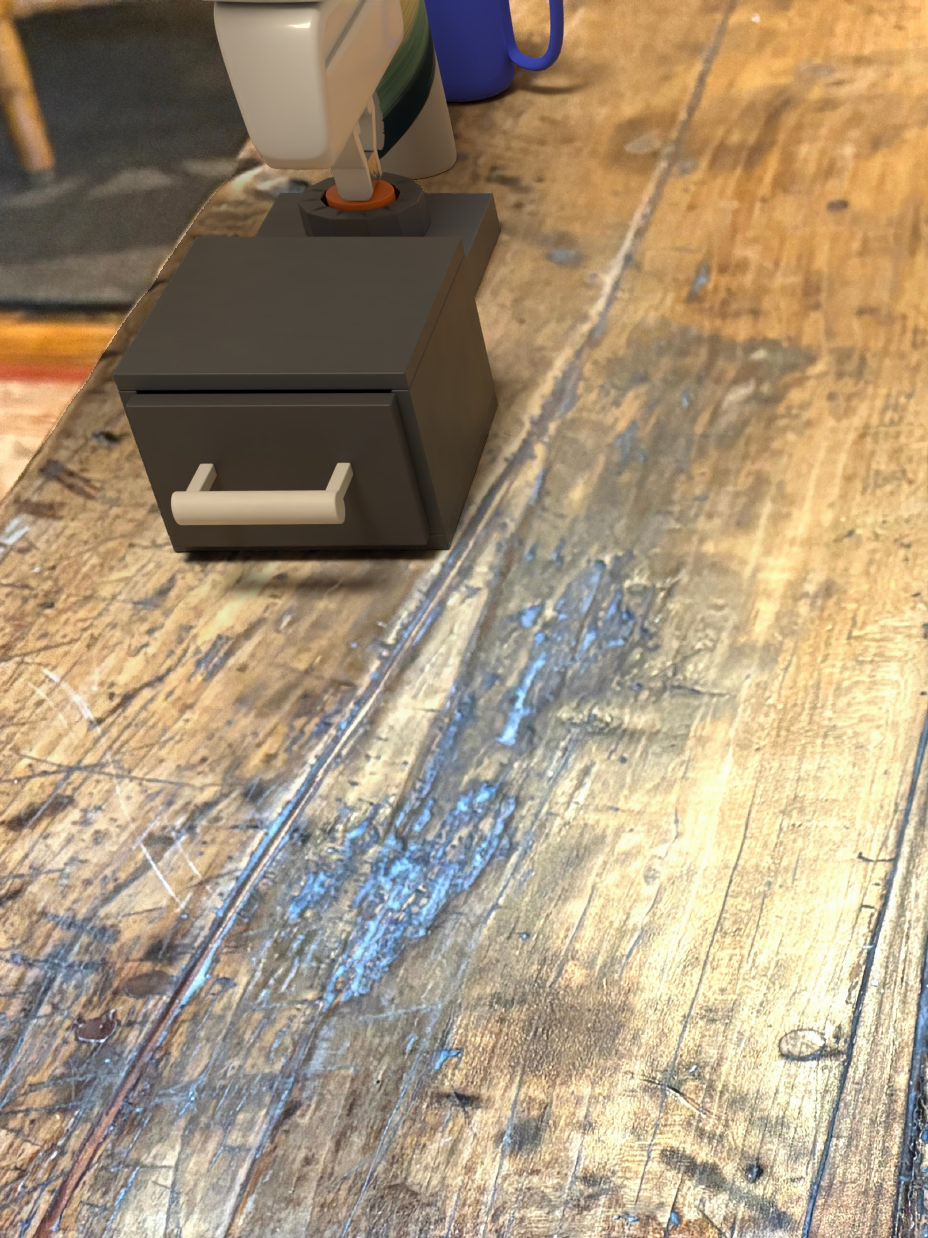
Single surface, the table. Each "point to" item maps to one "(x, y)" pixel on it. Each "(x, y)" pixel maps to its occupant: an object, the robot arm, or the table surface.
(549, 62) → the mug
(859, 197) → the table surface
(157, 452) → the drawer
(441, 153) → the lotion bottle
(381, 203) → the button
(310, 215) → the button block
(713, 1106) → the table surface
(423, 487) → the cabinet
